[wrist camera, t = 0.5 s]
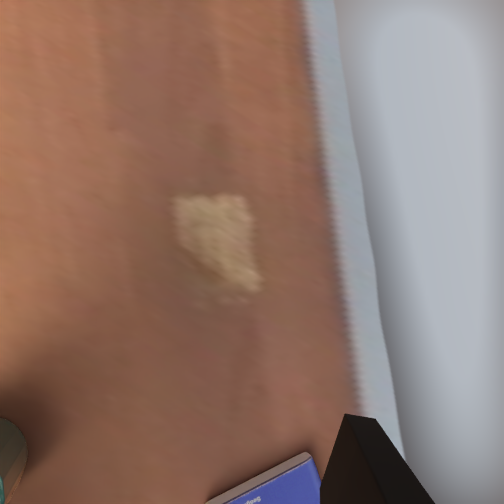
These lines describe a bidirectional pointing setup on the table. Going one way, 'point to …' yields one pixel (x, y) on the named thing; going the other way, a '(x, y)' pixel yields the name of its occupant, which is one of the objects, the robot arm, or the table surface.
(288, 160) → the table surface
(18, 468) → the cup
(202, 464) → the table surface
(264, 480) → the blue book
